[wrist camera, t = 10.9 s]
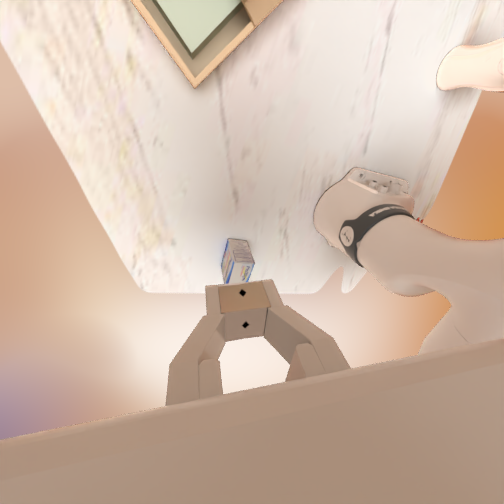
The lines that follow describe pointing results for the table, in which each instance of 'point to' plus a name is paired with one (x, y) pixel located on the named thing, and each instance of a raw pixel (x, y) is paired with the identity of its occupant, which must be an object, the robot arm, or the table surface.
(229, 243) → the medicine box
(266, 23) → the table surface
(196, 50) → the mailer box
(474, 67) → the beer glass
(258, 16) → the mailer lid
